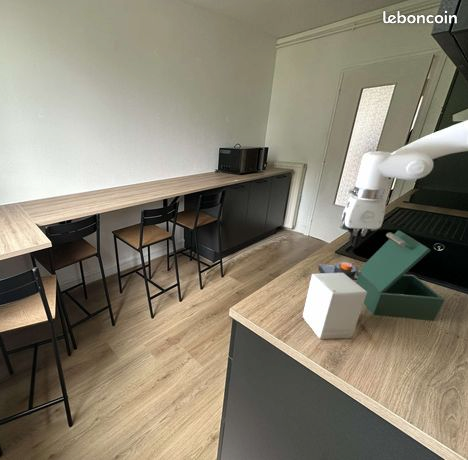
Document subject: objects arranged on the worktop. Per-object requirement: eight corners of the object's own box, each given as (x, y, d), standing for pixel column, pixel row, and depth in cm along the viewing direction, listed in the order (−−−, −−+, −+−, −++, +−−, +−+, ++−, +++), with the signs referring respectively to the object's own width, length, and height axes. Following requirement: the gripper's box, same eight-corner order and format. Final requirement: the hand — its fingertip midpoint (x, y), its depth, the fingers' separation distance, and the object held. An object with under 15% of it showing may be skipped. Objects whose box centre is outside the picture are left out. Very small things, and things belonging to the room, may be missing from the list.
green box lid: (400, 231, 72) (386, 224, 72) (431, 250, 62) (414, 241, 62) (361, 270, 79) (348, 264, 79) (382, 293, 68) (367, 286, 69)
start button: (348, 266, 91) (349, 262, 90) (352, 271, 88) (354, 267, 88) (338, 265, 92) (339, 261, 91) (342, 270, 89) (343, 266, 88)
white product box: (353, 338, 66) (369, 292, 60) (319, 340, 66) (332, 293, 60) (331, 314, 74) (343, 271, 68) (301, 315, 74) (311, 273, 68)
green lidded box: (404, 298, 80) (414, 275, 76) (432, 325, 69) (445, 299, 66) (352, 293, 83) (359, 271, 79) (371, 319, 72) (380, 294, 69)
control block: (347, 271, 94) (350, 262, 93) (358, 284, 87) (361, 274, 86) (318, 269, 96) (320, 260, 95) (326, 281, 89) (328, 272, 88)
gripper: (346, 196, 77) (334, 249, 84) (404, 196, 74) (385, 251, 81) (336, 190, 84) (325, 239, 91) (388, 190, 81) (372, 241, 88)
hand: (353, 244), depth 86 cm, fingers closed
